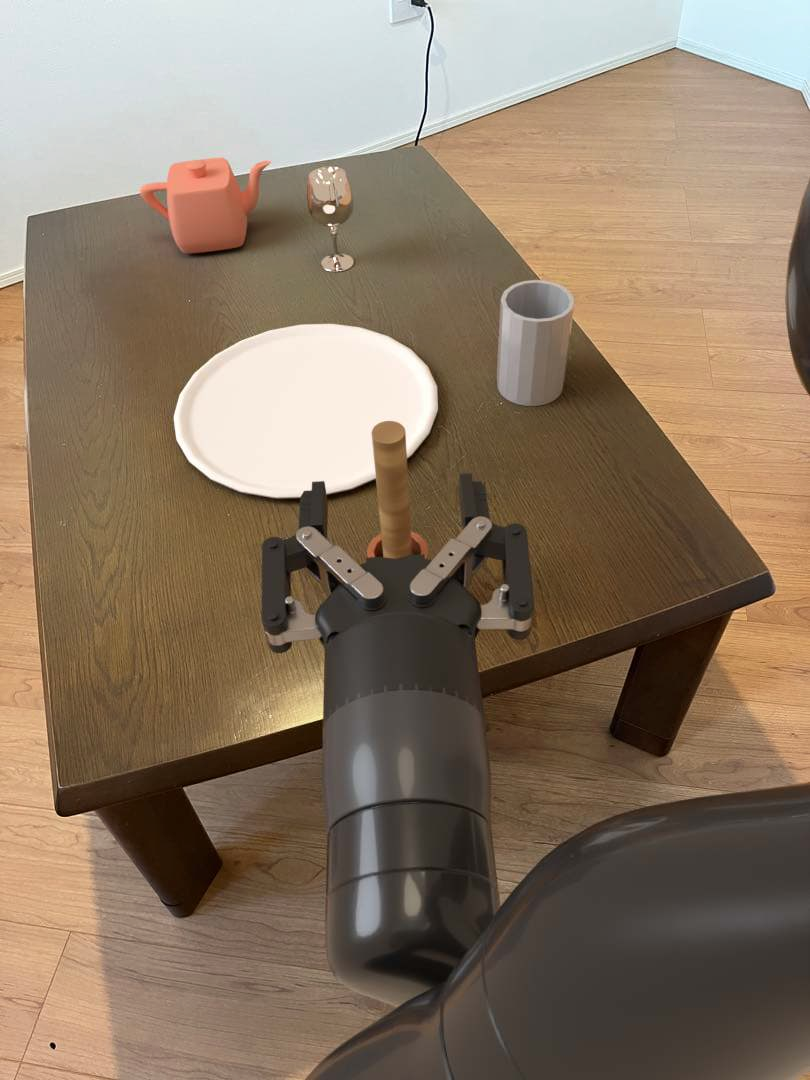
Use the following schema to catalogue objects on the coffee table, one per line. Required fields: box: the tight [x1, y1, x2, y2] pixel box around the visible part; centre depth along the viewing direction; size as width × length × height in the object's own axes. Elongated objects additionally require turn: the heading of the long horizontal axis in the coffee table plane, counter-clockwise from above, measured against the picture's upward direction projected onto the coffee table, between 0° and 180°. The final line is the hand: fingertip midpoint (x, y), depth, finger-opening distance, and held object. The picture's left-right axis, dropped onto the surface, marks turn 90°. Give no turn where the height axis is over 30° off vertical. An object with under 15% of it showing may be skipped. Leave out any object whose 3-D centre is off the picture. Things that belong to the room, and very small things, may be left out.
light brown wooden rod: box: [372, 421, 413, 559], centre depth 66 cm, size 3×3×20 cm
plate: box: [173, 323, 439, 499], centre depth 92 cm, size 29×29×1 cm
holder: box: [366, 530, 430, 559], centre depth 71 cm, size 5×5×8 cm
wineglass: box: [306, 165, 355, 273], centre depth 107 cm, size 6×6×12 cm
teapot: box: [139, 157, 272, 254], centre depth 114 cm, size 12×18×10 cm, turn 100°
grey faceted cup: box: [496, 279, 576, 407], centre depth 89 cm, size 7×7×11 cm
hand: (392, 487), depth 49 cm, fingers open, 8 cm apart
